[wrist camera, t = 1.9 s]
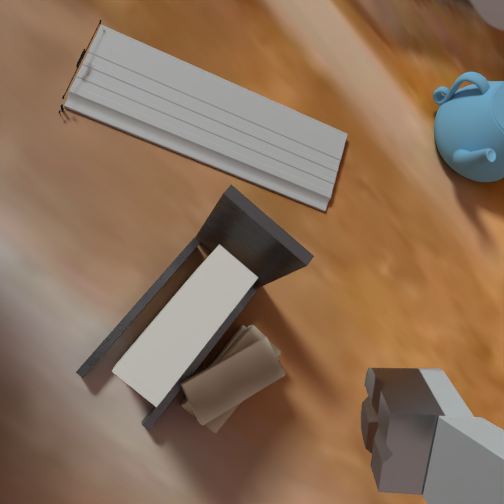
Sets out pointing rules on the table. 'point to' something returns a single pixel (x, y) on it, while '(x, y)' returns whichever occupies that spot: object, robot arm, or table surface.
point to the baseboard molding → (206, 118)
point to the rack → (238, 245)
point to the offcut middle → (243, 340)
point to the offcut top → (232, 380)
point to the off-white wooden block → (184, 326)
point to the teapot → (472, 127)
